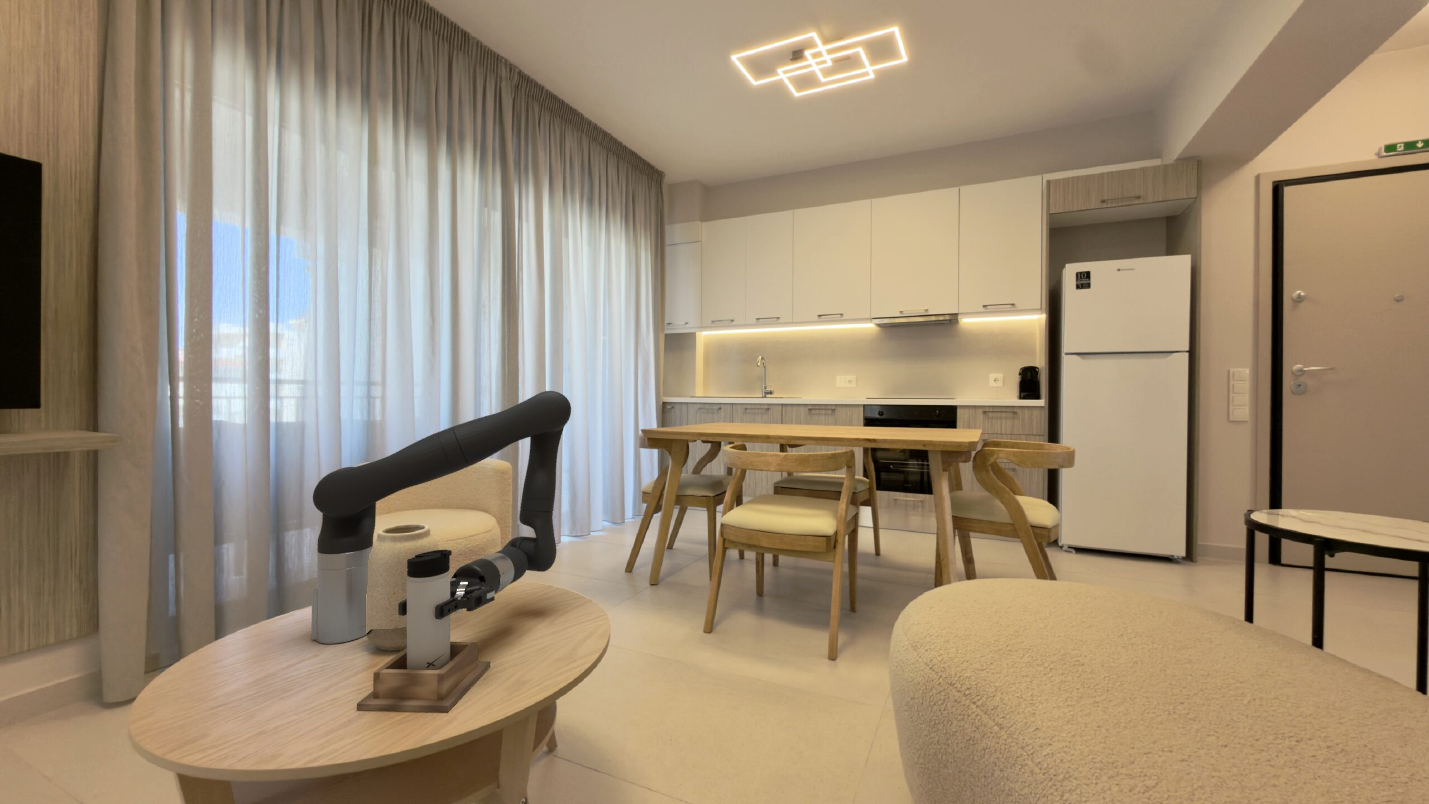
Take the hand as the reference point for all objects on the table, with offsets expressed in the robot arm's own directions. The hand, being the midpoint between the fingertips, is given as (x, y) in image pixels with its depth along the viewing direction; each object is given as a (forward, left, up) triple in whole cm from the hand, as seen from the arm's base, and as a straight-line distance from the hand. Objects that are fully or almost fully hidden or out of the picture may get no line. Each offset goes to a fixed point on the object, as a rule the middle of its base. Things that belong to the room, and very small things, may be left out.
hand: (418, 611), depth 86 cm
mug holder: (0, +2, -13) cm, 13 cm away
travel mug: (+1, +2, -11) cm, 11 cm away
